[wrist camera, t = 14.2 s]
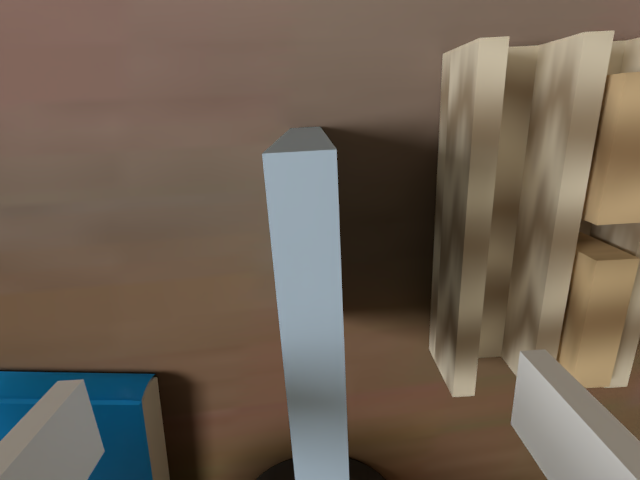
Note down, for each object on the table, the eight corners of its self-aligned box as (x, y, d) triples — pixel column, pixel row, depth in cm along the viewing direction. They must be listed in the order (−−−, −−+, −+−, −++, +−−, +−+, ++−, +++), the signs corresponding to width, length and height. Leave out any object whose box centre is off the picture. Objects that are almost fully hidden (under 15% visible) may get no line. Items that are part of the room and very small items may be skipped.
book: (163, 554, 33) (-135, 561, 32) (179, 505, 37) (-85, 510, 36) (138, 397, 28) (-224, 399, 27) (159, 360, 32) (-154, 360, 31)
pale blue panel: (329, 311, 30) (350, 518, 15) (304, 312, 30) (299, 521, 15) (320, 126, 25) (336, 149, 10) (290, 128, 25) (262, 153, 10)
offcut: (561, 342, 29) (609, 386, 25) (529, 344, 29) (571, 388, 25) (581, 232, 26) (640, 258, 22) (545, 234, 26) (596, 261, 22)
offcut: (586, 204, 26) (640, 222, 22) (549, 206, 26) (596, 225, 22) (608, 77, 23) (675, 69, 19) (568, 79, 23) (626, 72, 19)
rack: (574, 340, 31) (626, 386, 26) (428, 349, 31) (452, 396, 26) (630, 43, 24) (719, 24, 19) (442, 53, 24) (479, 38, 19)
